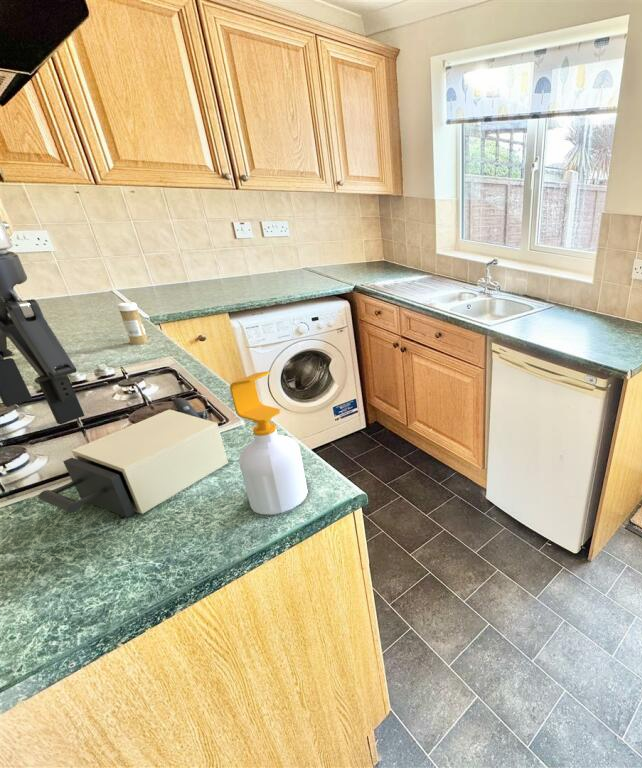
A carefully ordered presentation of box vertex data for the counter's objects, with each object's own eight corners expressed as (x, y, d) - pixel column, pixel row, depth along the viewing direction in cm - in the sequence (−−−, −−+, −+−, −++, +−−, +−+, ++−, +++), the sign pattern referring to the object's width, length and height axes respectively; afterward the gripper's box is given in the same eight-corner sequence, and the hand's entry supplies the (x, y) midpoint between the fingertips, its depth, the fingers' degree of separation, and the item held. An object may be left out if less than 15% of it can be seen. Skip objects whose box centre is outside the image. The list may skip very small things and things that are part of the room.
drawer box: (142, 516, 69) (123, 469, 65) (92, 496, 73) (71, 450, 69) (228, 464, 83) (217, 422, 79) (182, 450, 86) (169, 409, 82)
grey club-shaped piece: (217, 436, 91) (211, 414, 89) (177, 447, 87) (170, 424, 84) (200, 405, 103) (194, 385, 100) (165, 414, 98) (157, 392, 96)
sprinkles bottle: (152, 342, 138) (139, 302, 133) (142, 346, 134) (129, 305, 129) (137, 341, 138) (123, 301, 132) (127, 346, 134) (112, 305, 128)
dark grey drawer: (89, 539, 63) (70, 499, 60) (42, 518, 66) (21, 479, 63) (212, 468, 80) (201, 433, 77) (169, 454, 83) (158, 420, 80)
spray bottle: (280, 522, 70) (250, 390, 59) (238, 508, 72) (202, 379, 62) (319, 490, 77) (298, 368, 67) (280, 478, 80) (254, 359, 70)
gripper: (71, 258, 51) (130, 416, 60) (-41, 240, 57) (28, 385, 66) (-17, 267, 44) (64, 442, 53) (-133, 245, 51) (-42, 405, 60)
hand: (44, 410), depth 60 cm, fingers open, 11 cm apart
